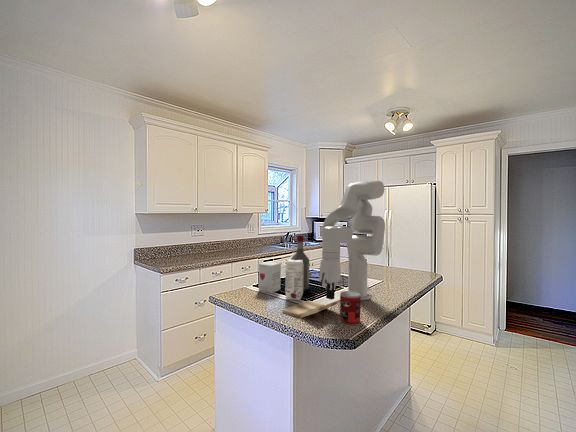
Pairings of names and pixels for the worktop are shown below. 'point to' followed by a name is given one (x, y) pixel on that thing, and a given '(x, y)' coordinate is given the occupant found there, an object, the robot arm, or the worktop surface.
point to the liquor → (302, 256)
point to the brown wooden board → (302, 308)
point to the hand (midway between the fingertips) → (330, 298)
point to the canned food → (350, 307)
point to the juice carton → (294, 279)
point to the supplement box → (269, 277)
